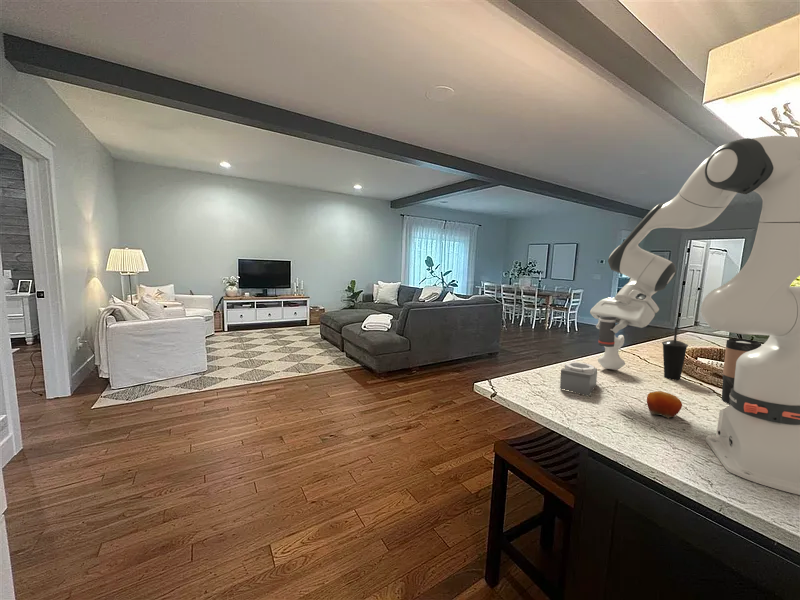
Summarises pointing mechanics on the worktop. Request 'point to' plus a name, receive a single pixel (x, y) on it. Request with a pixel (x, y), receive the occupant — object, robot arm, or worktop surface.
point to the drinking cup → (673, 357)
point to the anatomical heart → (613, 355)
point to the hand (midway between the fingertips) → (605, 329)
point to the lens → (606, 331)
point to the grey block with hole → (578, 377)
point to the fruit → (663, 404)
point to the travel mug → (734, 362)
